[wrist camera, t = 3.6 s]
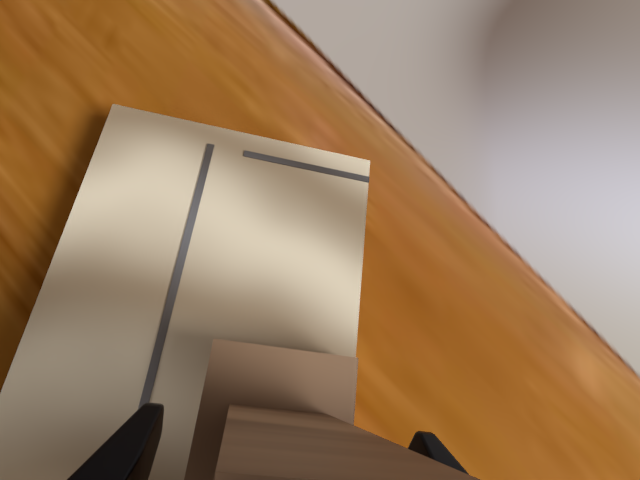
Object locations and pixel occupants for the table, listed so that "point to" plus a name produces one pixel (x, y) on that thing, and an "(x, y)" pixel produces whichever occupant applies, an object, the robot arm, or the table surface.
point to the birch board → (179, 283)
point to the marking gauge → (291, 422)
